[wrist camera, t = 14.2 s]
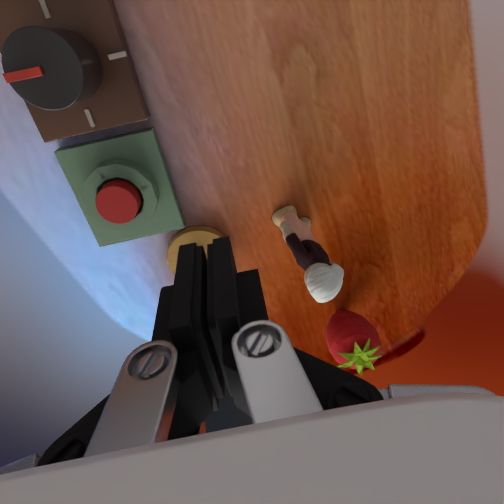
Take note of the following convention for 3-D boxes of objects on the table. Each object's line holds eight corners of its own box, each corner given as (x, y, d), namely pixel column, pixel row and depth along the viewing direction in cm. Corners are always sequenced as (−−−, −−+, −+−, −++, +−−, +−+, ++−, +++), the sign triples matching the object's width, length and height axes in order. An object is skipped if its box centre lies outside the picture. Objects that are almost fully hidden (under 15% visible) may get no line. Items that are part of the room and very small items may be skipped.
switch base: (58, 148, 33) (45, 157, 30) (154, 127, 33) (149, 134, 30) (102, 241, 38) (94, 256, 35) (185, 223, 38) (183, 236, 35)
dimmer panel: (-11, 5, 27) (-27, 2, 25) (107, -22, 27) (99, -27, 25) (52, 137, 32) (42, 143, 30) (151, 115, 32) (148, 119, 30)
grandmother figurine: (256, 223, 38) (275, 294, 28) (275, 194, 37) (303, 256, 26) (312, 252, 41) (350, 327, 30) (332, 225, 40) (379, 294, 29)
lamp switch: (93, 184, 32) (88, 191, 30) (132, 175, 32) (129, 182, 30) (109, 219, 34) (105, 227, 32) (146, 211, 34) (143, 219, 32)
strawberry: (332, 339, 49) (359, 403, 40) (305, 306, 45) (327, 367, 36) (371, 318, 47) (407, 379, 39) (346, 282, 44) (379, 340, 35)
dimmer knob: (87, 22, 26) (61, 17, 22) (112, 94, 29) (94, 103, 24) (21, 36, 26) (-18, 34, 22) (52, 106, 29) (23, 118, 24)
